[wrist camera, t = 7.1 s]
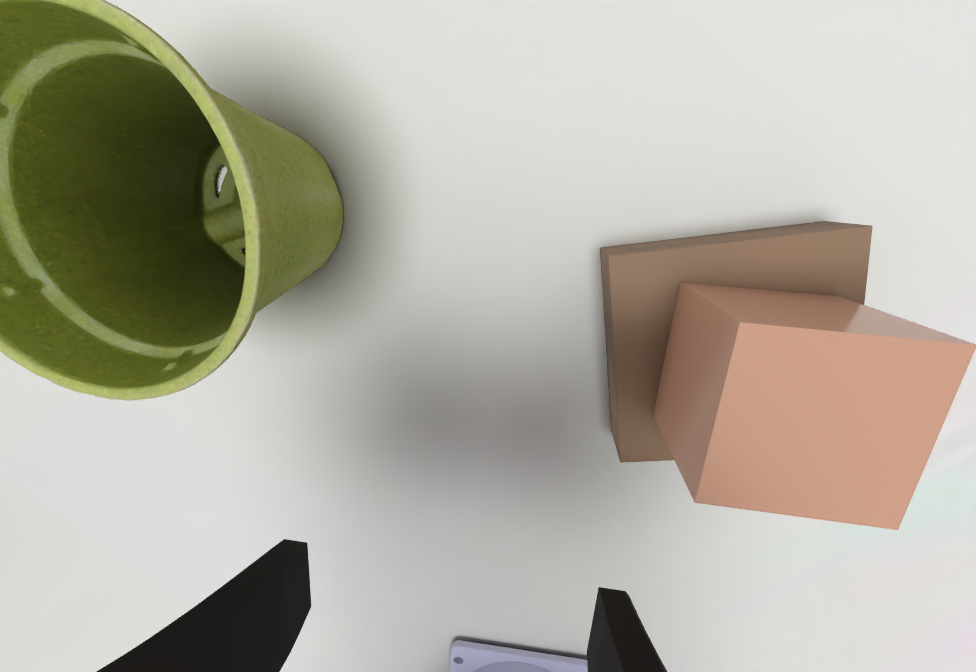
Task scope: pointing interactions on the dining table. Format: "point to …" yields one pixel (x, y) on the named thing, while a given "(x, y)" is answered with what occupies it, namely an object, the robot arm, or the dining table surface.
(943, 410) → the terracotta cube
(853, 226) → the walnut block
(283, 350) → the dining table surface
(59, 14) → the plant pot
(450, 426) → the dining table surface
